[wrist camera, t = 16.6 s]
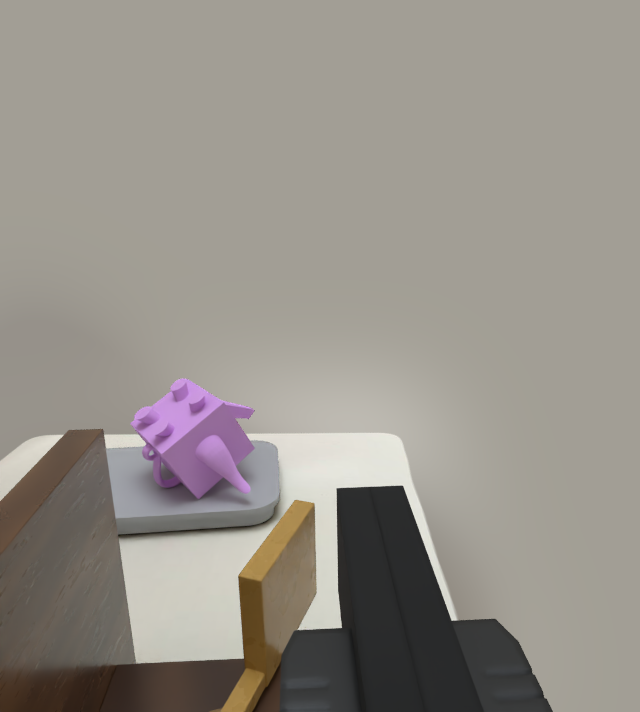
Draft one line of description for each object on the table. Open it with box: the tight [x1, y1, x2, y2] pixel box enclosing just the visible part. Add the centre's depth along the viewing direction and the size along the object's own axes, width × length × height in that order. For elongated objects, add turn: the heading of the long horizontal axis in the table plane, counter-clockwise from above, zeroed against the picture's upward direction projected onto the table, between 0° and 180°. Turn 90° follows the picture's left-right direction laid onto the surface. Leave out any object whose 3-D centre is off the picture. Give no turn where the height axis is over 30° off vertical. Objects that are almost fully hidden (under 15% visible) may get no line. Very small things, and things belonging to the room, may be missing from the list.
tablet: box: [106, 440, 280, 535], centre depth 63 cm, size 16×26×2 cm, turn 95°
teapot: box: [130, 379, 255, 499], centre depth 61 cm, size 18×13×10 cm
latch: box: [220, 500, 316, 712], centre depth 31 cm, size 13×3×7 cm, turn 160°
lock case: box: [0, 429, 281, 712], centre depth 26 cm, size 16×18×20 cm
